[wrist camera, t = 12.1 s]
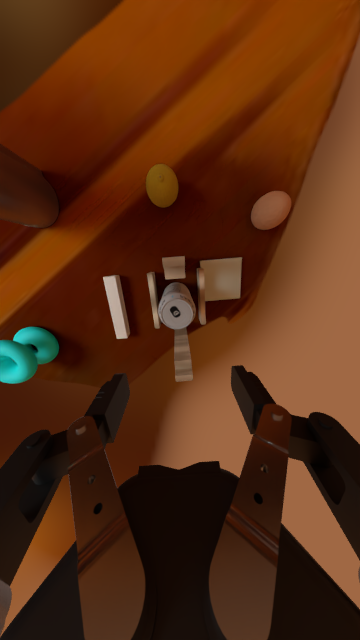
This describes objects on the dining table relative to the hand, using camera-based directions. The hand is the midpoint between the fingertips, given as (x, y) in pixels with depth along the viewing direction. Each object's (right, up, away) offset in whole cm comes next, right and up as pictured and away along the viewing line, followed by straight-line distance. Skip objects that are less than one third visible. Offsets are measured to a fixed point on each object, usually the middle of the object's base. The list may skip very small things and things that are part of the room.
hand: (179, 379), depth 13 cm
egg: (+16, +26, +22) cm, 37 cm away
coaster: (+9, +14, +26) cm, 30 cm away
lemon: (-3, +29, +20) cm, 35 cm away
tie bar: (-14, +8, +27) cm, 32 cm away
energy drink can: (-1, +10, +27) cm, 29 cm away
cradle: (0, +10, +27) cm, 28 cm away
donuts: (-36, -1, +30) cm, 47 cm away
